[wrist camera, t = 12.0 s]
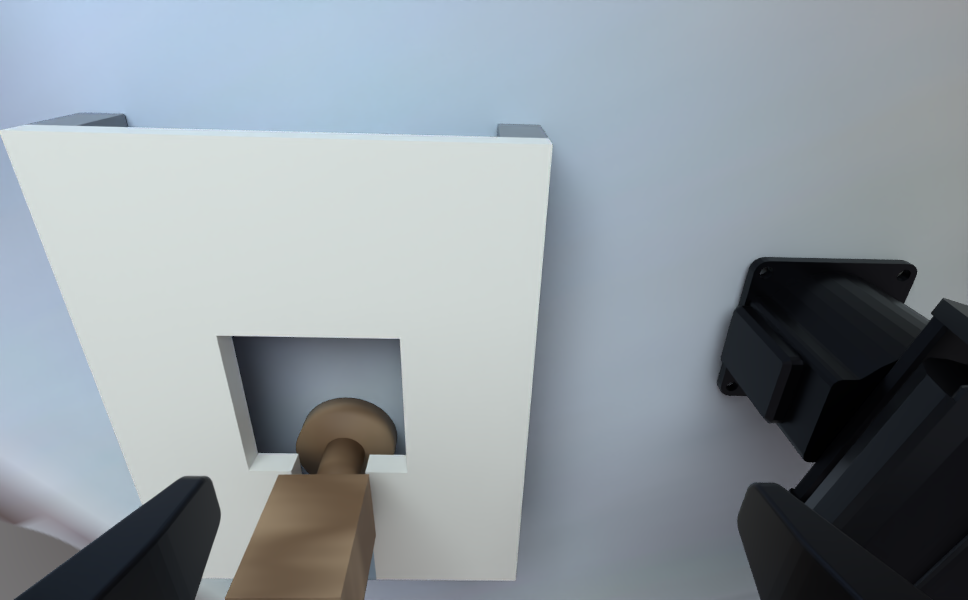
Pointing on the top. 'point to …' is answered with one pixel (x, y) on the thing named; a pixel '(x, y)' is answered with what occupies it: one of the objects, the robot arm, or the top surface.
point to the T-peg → (320, 511)
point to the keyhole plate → (306, 307)
